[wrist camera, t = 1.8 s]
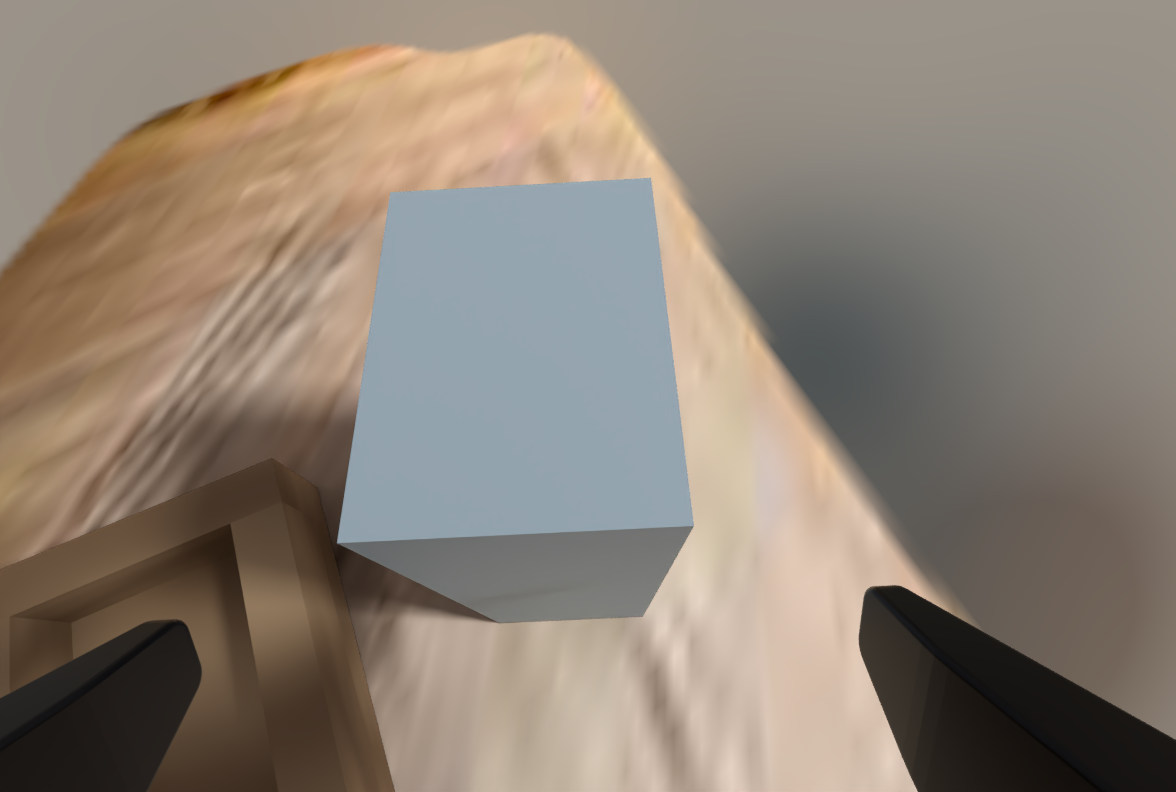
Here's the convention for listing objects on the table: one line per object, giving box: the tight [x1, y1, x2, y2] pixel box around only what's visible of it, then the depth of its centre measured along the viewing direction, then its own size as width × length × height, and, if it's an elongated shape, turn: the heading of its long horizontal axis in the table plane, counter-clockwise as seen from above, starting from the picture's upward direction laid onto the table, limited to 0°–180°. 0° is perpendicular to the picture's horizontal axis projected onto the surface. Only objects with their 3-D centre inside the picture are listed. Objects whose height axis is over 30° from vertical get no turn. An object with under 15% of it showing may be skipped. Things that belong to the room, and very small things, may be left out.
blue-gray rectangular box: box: [337, 178, 694, 623], centre depth 14 cm, size 6×4×12 cm
